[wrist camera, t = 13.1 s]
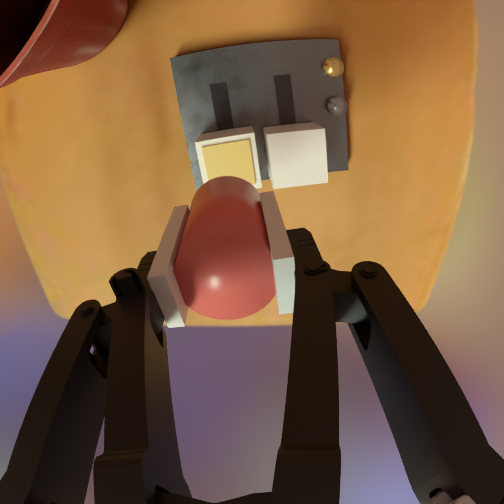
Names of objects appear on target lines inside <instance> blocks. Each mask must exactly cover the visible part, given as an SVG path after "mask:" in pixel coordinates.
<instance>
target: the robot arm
mask: <svg viewBox="0 0 504 504" xmlns="http://www.w3.org/2000/svg"><path fill="white" fill-rule="evenodd" d="M260 200H261V206H262V211H263V215H264V220H265V225H266V230H267V235H268V240H269V245H270V250H271V256H272V264H273V272H274V280H275V289H276V297H277V303H278V309H279V314H286V313H293V324H292V339H291V350H290V363H289V374H288V384H287V395H286V404H285V414H284V422H283V432H282V439H281V445H280V447H279V450H278V454H277V459H276V467H275V473H274V480H273V487H272V492H265V493H253V494H249V495H246V496H242V497H239V498H235V499H231V500H227V501H223V502H219V503H210V502H206V501H202V500H198V499H194V498H192V496H191V493H190V490H189V487H188V485H187V483H186V481H185V479H184V477H183V474H182V468H181V462H180V456H179V450H178V443H177V436H176V429H175V422H174V414H173V406H172V398H171V388H170V379H169V367H168V355H167V341H166V334H165V331H164V329H163V322H164V319H165V322H166V324H167V326H168V328H172V327H183V326H185V323H186V316H187V310H188V306H187V305H186V304H185V303H184V300H183V297H182V294H181V292H180V289H179V286H178V283H177V280H176V277H175V275H174V272H173V270H174V265H175V261H176V257H177V254H178V250H179V246H180V242H181V239H182V235H183V231H184V228H185V224H186V221H187V217H188V214H189V208H188V205H183V206H177V207H175V208H174V210H173V212H172V215H171V217H170V220H169V222H168V224H167V227H166V229H165V232H164V234H163V237H162V239H161V242H160V244H159V247H158V250H157V251H152V252H148V253H147V254H146V255H145V256H144V257H143V258H142V259H141V261H140V264H139V266H138V268H137V269H135V268H126V269H123V270H120V271H118V272H117V273H115V274H114V275H113V276H112V277H111V278H110V280H109V283H110V285H111V287H112V290H113V292H114V294H115V296H116V302H114V303H112V304H109V305H106V306H103V307H102V306H101V305H100V303H99V302H98V301H97V300H88V301H85V302H83V303H81V304H80V305H79V306H78V307H77V308H76V310H75V311H74V313H73V315H72V316H71V318H70V320H69V322H68V324H67V326H66V328H65V330H64V331H63V333H62V335H61V337H60V339H59V341H58V343H57V345H56V348H55V349H54V351H53V353H52V355H51V357H50V360H49V362H48V364H47V366H46V368H45V370H44V372H43V375H42V377H41V379H40V381H39V384H38V386H37V388H36V390H35V393H34V395H33V398H32V400H31V403H30V405H29V407H28V410H27V413H26V415H25V418H24V420H23V423H22V426H21V428H20V431H19V434H18V437H17V440H16V443H15V446H14V449H13V452H12V455H11V458H10V461H9V465H8V468H7V471H6V472H5V474H4V476H3V477H2V479H1V480H0V504H84V501H85V496H86V492H87V487H88V482H89V477H90V473H91V469H92V464H93V460H94V455H95V451H96V447H97V443H98V439H99V435H100V431H101V427H102V424H103V420H104V416H105V426H104V453H103V454H102V455H100V456H97V457H96V459H95V460H94V467H93V474H94V497H95V498H94V499H95V504H339V497H340V475H341V450H340V447H339V386H338V358H337V338H336V322H344V323H348V326H349V328H350V330H351V332H352V335H353V337H354V339H355V341H356V344H357V346H358V349H359V351H360V353H361V356H362V358H363V360H364V363H365V365H366V367H367V370H368V372H369V375H370V377H371V380H372V382H373V385H374V387H375V390H376V392H377V395H378V397H379V400H380V402H381V405H382V407H383V410H384V412H385V415H386V418H387V420H388V423H389V426H390V428H391V431H392V434H393V436H394V439H395V442H396V445H397V448H398V450H399V453H400V456H401V459H402V462H403V465H404V468H405V471H406V473H407V476H408V479H409V482H410V484H411V487H412V489H413V492H414V493H415V495H416V497H417V499H418V500H419V502H420V504H504V459H503V458H502V457H501V456H500V455H499V454H498V453H497V452H496V451H495V450H494V449H493V448H492V447H491V446H490V445H489V444H488V442H487V440H486V437H485V435H484V433H483V431H482V429H481V427H480V425H479V423H478V421H477V419H476V417H475V415H474V413H473V411H472V409H471V407H470V405H469V403H468V401H467V399H466V397H465V395H464V393H463V392H462V390H461V388H460V386H459V385H458V382H457V381H456V379H455V377H454V375H453V374H452V372H451V370H450V368H449V367H448V365H447V363H446V362H445V360H444V358H443V356H442V355H441V353H440V351H439V350H438V348H437V346H436V345H435V343H434V341H433V340H432V338H431V337H430V335H429V333H428V332H427V330H426V329H425V327H424V325H423V324H422V323H421V321H420V319H419V318H418V316H417V315H416V313H415V312H414V310H413V309H412V307H411V306H410V304H409V303H408V301H407V300H406V298H405V297H404V295H403V294H402V292H401V291H400V289H399V288H398V287H397V285H396V284H395V282H394V281H393V279H392V278H391V277H390V275H389V274H388V272H387V271H386V270H385V268H384V267H383V266H382V265H380V264H378V263H376V262H371V261H363V262H360V263H357V264H356V265H354V266H353V268H352V271H351V272H348V271H337V270H334V269H331V267H330V265H329V264H328V263H327V262H326V261H323V259H322V257H321V255H320V252H319V250H318V248H317V245H316V243H315V241H314V239H313V236H312V234H311V232H309V231H308V230H307V229H305V228H299V229H291V230H286V229H285V226H284V223H283V220H282V217H281V214H280V210H279V207H278V204H277V201H276V198H275V195H274V192H273V191H271V192H263V193H260ZM91 346H93V348H94V351H93V353H92V354H91V353H90V349H91Z"/></svg>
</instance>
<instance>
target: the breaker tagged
mask: <svg viewBox="0 0 504 504" xmlns="http://www.w3.org/2000/svg"><path fill="white" fill-rule="evenodd" d="M195 146H196V151H197V156H198V161H199V166H200V171H201V175H202V180H203V184H204V183H206V182H207V181H209V180H211V179H213V178H216V177H220V176H235V177H239V178H241V179H244V180H246V181H248V182H249V183H251V184H252V185H253V186H254V187H255V188H262V184H261V177H260V170H259V163H258V155H257V148H256V141H255V134H254V131H253V128H252V126H246V127H240V128H233V129H227V130H221V131H215V132H210V133H204V134H200V135H199V137H198V138H197V140H196V141H195Z"/></svg>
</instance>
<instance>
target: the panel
mask: <svg viewBox="0 0 504 504" xmlns="http://www.w3.org/2000/svg"><path fill="white" fill-rule="evenodd" d="M170 60H171V66H172V71H173V77H174V82H175V87H176V93H177V98H178V103H179V108H180V113H181V118H182V123H183V128H184V133H185V138H186V143H187V148H188V152H189V157H190V162H191V166H192V171H193V175H194V180H195V184H196V189H197V190H198V189H199V188H200V187H201V186H202V185H203V180H202V175H201V171H200V166H199V161H198V156H197V151H196V146H195V141H196V140H197V138H198V137H199V135H200V134H204V133H210V132H215V131H221V130H227V129H233V128H240V127H246V126H252V128H253V131H254V134H255V141H256V148H257V155H258V163H259V170H260V177H261V180H266V179H270V177H269V172H268V164H267V157H266V149H265V141H264V134H263V127H270V126H278V125H287V124H297V123H308V122H314V123H316V124H318V125H319V126H321V127H323V128H325V137H326V152H327V170H328V172H333V171H343V170H348V144H347V124H346V112H347V110H348V104H347V102H346V100H345V96H344V85H343V75H342V74H343V72H344V64H343V62H342V61H341V57H340V49H339V41H338V39H304V40H285V41H271V42H261V43H252V44H244V45H236V46H229V47H223V48H217V49H211V50H206V51H201V52H196V53H191V54H186V55H182V56H177V57H173V58H170Z"/></svg>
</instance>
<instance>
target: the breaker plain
mask: <svg viewBox="0 0 504 504" xmlns="http://www.w3.org/2000/svg"><path fill="white" fill-rule="evenodd" d="M263 134H264V141H265V149H266V157H267V164H268V172H269V177H270V180H271V183H272V186H273V189H279V188H287V187H295V186H303V185H311V184H320V183H328V170H327V152H326V137H325V128H323V127H321V126H319V125H318V124H316V123H314V122H308V123H297V124H287V125H278V126H270V127H263Z"/></svg>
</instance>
